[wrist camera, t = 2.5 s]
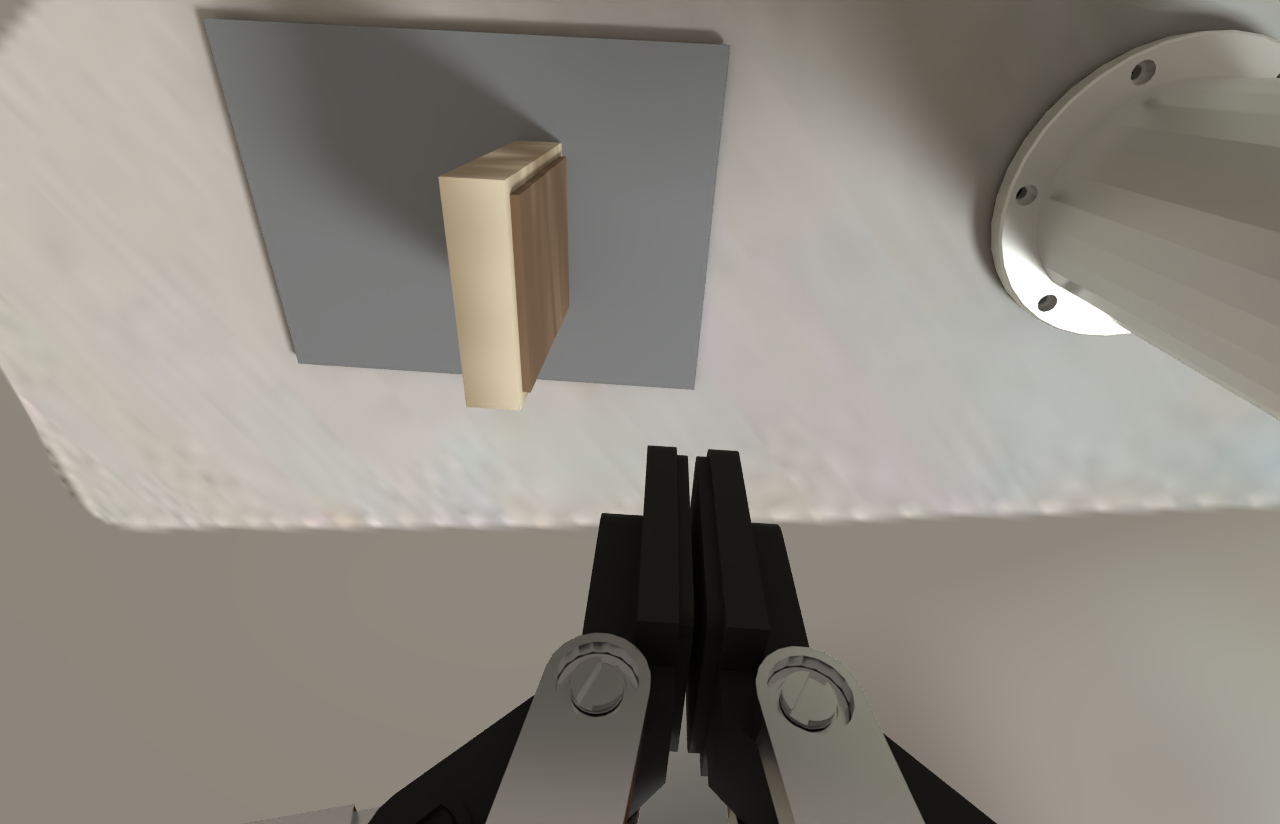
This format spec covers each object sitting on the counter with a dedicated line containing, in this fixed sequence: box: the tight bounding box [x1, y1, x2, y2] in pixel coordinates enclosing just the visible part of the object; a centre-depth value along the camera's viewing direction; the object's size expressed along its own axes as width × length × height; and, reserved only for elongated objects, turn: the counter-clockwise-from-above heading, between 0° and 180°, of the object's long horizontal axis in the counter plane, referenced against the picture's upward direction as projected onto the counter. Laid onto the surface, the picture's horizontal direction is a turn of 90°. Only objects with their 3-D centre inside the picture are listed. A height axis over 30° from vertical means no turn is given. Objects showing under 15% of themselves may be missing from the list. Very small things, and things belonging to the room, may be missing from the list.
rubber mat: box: [203, 18, 730, 390], centre depth 29 cm, size 22×16×1 cm
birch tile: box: [438, 140, 569, 410], centre depth 24 cm, size 2×8×10 cm, turn 177°
